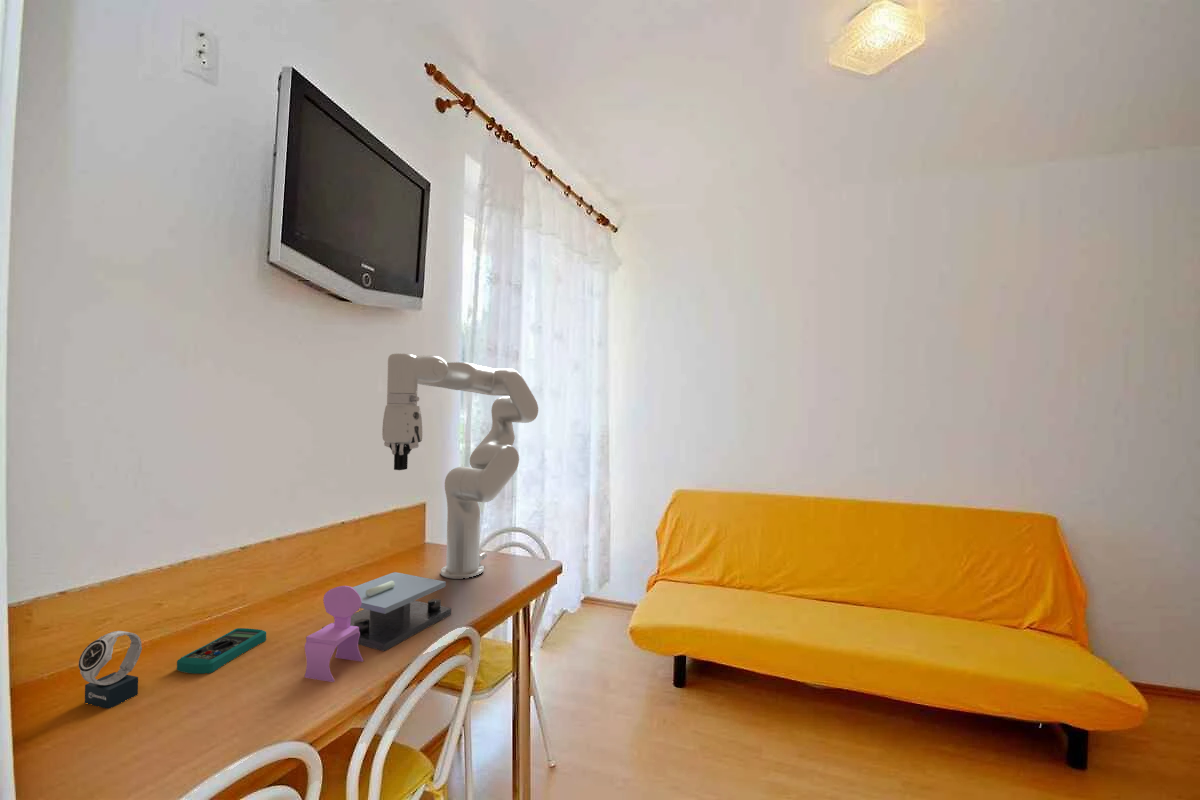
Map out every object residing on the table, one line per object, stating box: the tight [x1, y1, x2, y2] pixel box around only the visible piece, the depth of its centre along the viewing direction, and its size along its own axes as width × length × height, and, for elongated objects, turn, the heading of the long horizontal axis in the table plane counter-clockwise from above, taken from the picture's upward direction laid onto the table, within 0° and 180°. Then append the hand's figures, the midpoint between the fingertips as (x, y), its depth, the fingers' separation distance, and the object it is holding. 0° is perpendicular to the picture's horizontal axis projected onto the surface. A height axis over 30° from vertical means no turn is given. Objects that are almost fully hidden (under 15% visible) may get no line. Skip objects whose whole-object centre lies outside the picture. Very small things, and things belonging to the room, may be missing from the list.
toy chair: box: [304, 585, 365, 683], centre depth 101 cm, size 8×9×15 cm
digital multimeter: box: [176, 627, 267, 675], centre depth 106 cm, size 7×15×3 cm, turn 173°
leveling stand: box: [321, 598, 452, 652], centre depth 121 cm, size 21×18×6 cm
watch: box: [78, 630, 143, 710], centre depth 89 cm, size 6×8×11 cm
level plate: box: [351, 571, 447, 614], centre depth 122 cm, size 19×16×3 cm
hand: (400, 469), depth 140 cm, fingers closed
